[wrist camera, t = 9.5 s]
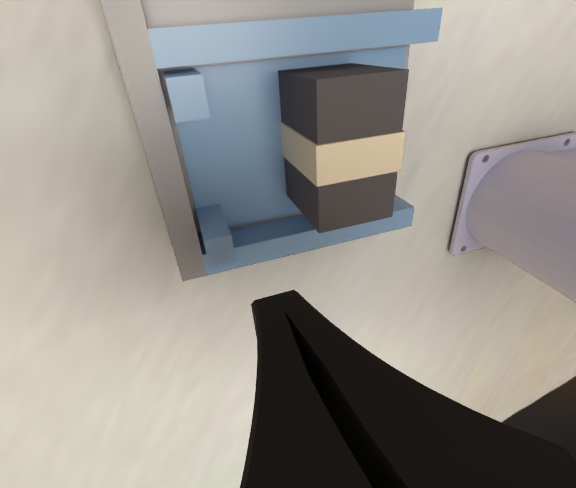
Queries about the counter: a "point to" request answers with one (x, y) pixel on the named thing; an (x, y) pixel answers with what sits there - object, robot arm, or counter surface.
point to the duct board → (243, 112)
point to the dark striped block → (342, 141)
